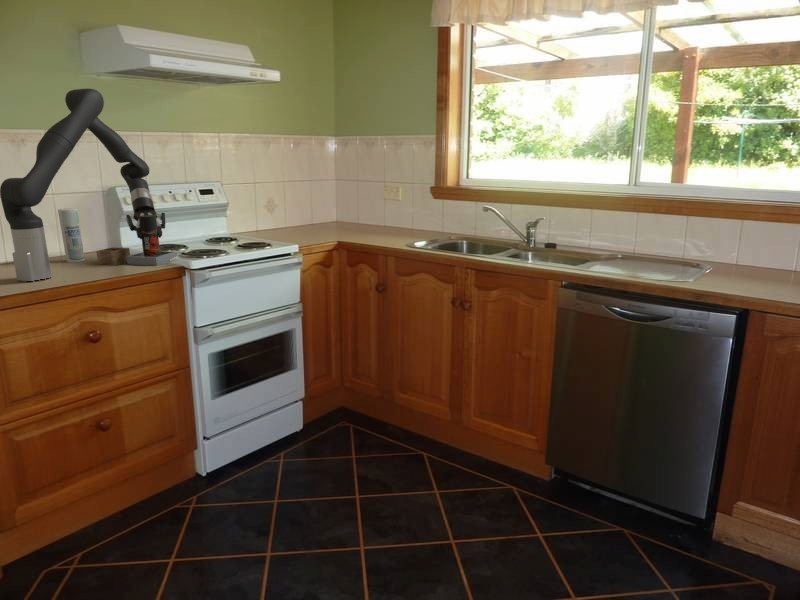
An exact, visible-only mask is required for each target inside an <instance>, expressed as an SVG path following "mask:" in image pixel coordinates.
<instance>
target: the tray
mask: <svg viewBox="0 0 800 600" xmlns="http://www.w3.org/2000/svg"><path fill="white" fill-rule="evenodd" d="M176 256H177V257H178V251H173V250H172V251H170V250H167V251H166V250H160V256H156V257H144V254H143V251H142V252H138V253H135V254H130V256H127V262H126V263H127V265H137V266H155V267H156V266H161V265H163V264H167V263H170V262H171V261H170V259H172V258H174V257H176ZM169 261H170V262H169Z"/></svg>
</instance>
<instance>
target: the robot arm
mask: <svg viewBox="0 0 800 600" xmlns="http://www.w3.org/2000/svg"><path fill="white" fill-rule="evenodd" d="M64 101H65V105H66V107H67V108H68V110H69V111H70V112H69V114H68V115H66V116H65V117H63V118H61V120H59V121H57V122H56V123H54V124H53V125H52V126H51V127H49V128H48V130H46V131H45V132H44V134H43V136H42V137H41V139H40V140H39V141H38V144H37V145H36V153H35V155H36V158H35V162H34V164H33V167H32V168H31V169H30V170H29V172H28V173H27V174H26V175H25V176H23V177H9V178H6V179H4V180H3V181H2V183H1V184H0V200H1V204H2V209H3V213H4V217H5V219H6V221H7V223H8V225H9V227H10V233H11V238H12V243H13V249H14V252H12V259H13V264H14V269H15V274H16V275H15V276H16V281H17V280H22V281H21V282H26V281H33V282H35V281H34V280H39V281H41V280H40V279H45V280H47V279H46V278H49V279H51V278H53V275H52V267H51V264H50V258H49V257H50V256H49V252H48V251H49V250H48V247H47V246H48V245H47V240H46V234H45V233H46V232H45V228H44V222H43V219H42V218H41V217H40V216H38V215H37V214H35V213H34V212H33V210H32V207H35V206H38V205H39V204H40V203H41V202H42V201H43V200H44V197H45V196H46V193H47V192H48V189H49V187H50V185H51V184H52V181H53V180H54V178H55V176H56V175H57V174H58V172H59V170H60V169H61V167H62V166H63V164H64V163H65V161H67V159H68V157H69V156H70V155H71V153H72V151H73V149H74V148H75V147H76V145H77V143H78V142H79V140H80V139H81V138H82V136H83V135H84V133H85V132H86V131H87V129H88V130H89V131H90V133H92V134H93V135H94V136H95V137H96V139H98V141H99V142H101V144H102V145H103V147H105V149H106V150H107V151H108V152H109V154H110V156H112V158H113V159H114V160H115V162H117V163H119V164H123V163H124V164H123V165H122V166H120V167H121V168H120V175H121V177H122V178H123V179H124V181H125V183H126V184H127V186H128V187H127V188H128V189H129V194H130V202H131V205H132V211H133V215H130V214H126V215H125V216H126V217H125V220H126V222H127V225H128V227H129V230H130V231H132V232H136V236H137V238H138V239H139V240H142V234H141V229H140V222H139V216H143V215H156V221H157V230H158V238H159V239H160V238H161V237H163V231H162V230H164V229H166V213H165V212H161V213H158V212H156V209H155V205H154V200H153V197H152V194H151V193H150V187H149V184H148V182H147V180H145V179H144V178H145V177H147V176H149V174H150V167H149V165H148V164H147V162H146V161H145V160H144V159H142V158H141V157H140V156H138V155H137V154H136V153H135V152H134V151H132V149H131V148H130V147H129V145H128V144H127V143H126V142H125V140H124V139H123V138H122V136H121V135H120V134H119V133H118V132H116V131H115V130H113V129H112V128H111V127H110V126H108V125H107V124H106V123H104V122H103V121H102V120H101V119H100V118H99V117H98V116H100V114H101V113H102V112H103V110H104V105H105V100H104V97H103V95H102V93H101V92H100V91H99V90H96V89H94V88H77V89H71V90H69V91H68V92H67V93H66V95H65V99H64ZM125 163H126V164H125ZM158 219H159V220H160V221H161V223H160V222H159V221H158ZM134 220H135V221H136V225H134V222H133V221H134ZM50 277H51V278H50Z"/></svg>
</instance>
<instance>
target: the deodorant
mask: <svg viewBox="0 0 800 600" xmlns="http://www.w3.org/2000/svg"><path fill="white" fill-rule="evenodd" d="M157 221H158V220H157ZM157 221H156V215H143V216H139V222H140V229H141V234H142V239H141V244H142V252H143V254H144V257H156V256H160V251H161V248H160V240H159V239H160V238H159V237H158V230H157Z"/></svg>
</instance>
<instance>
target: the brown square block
mask: <svg viewBox="0 0 800 600" xmlns="http://www.w3.org/2000/svg"><path fill="white" fill-rule="evenodd" d="M130 251H131V250H130V247H113V246H112V247H107V248H104V249H98V250H96V258H97V264H98V265H108V266H111V265H113V266H117V265H120V264H125V263H128V262H127V256H130V255H131V252H130Z"/></svg>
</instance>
